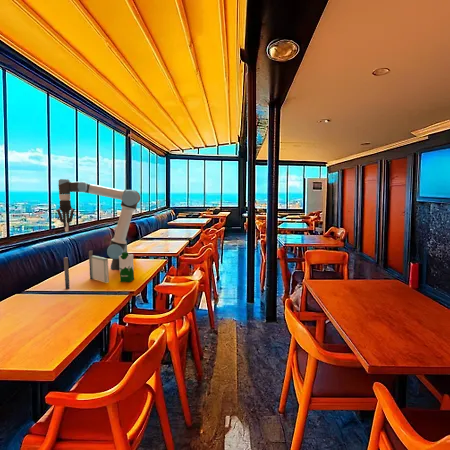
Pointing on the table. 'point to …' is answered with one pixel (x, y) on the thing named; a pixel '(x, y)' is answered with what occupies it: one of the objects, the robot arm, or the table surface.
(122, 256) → the milk carton
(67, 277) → the posts
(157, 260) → the table surface
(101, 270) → the beige framed panel
